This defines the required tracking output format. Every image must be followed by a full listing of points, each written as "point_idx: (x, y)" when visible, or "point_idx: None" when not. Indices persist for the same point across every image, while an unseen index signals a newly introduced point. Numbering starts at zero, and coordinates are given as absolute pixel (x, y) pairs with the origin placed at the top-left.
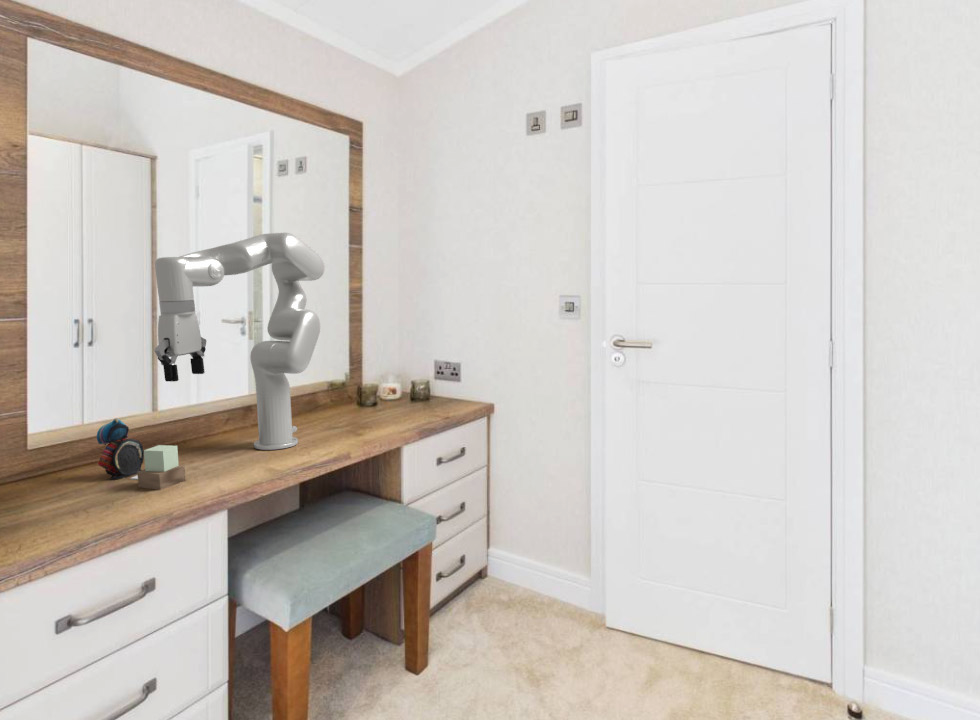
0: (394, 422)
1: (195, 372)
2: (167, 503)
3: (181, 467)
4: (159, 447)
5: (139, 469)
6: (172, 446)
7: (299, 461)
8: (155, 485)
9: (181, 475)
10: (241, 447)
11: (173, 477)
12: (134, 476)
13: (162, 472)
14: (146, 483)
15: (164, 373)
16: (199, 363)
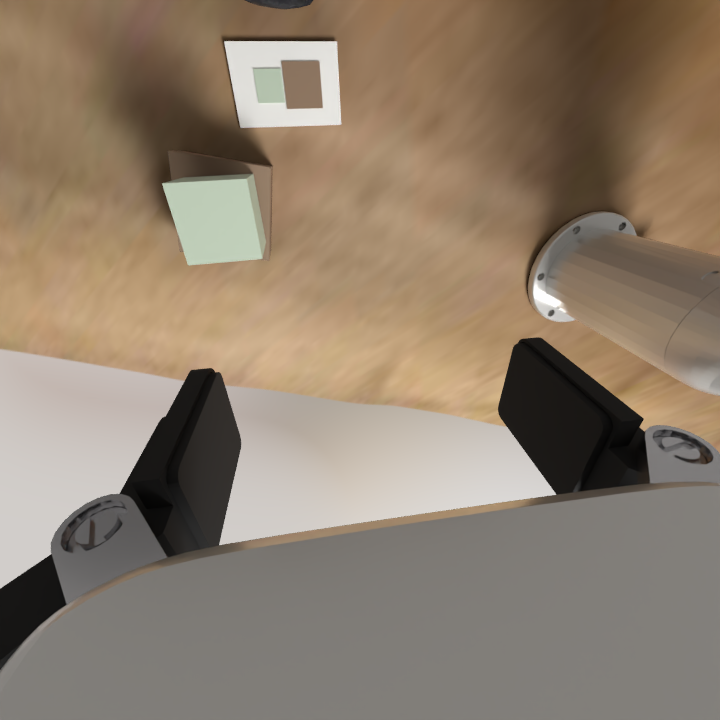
0: (703, 400)
1: (512, 373)
2: (131, 330)
3: (258, 259)
4: (221, 211)
5: (294, 5)
6: (248, 249)
7: (437, 391)
8: None
9: None
10: (574, 181)
11: None
12: (243, 42)
13: None
14: None
15: (170, 410)
16: (543, 460)
